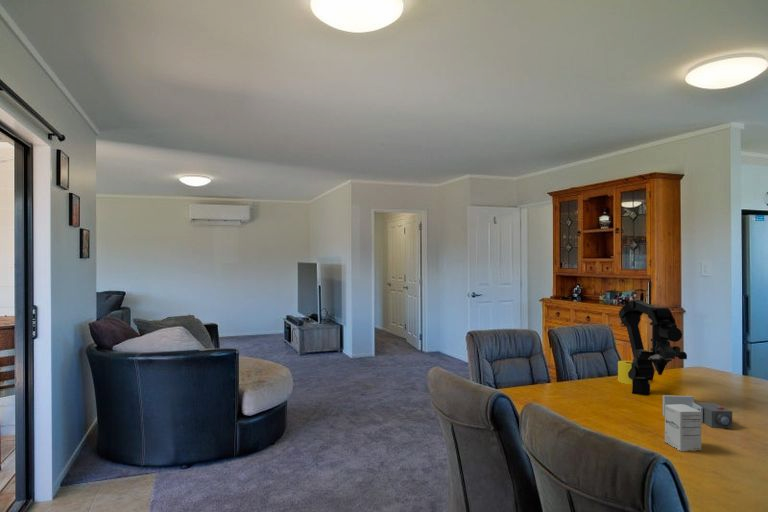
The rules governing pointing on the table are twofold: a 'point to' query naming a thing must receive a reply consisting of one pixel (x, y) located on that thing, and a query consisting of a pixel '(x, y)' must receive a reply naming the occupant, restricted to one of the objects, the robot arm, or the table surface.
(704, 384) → the table surface
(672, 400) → the side door
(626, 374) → the yellow paper roll
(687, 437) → the supplement box
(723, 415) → the camera body
